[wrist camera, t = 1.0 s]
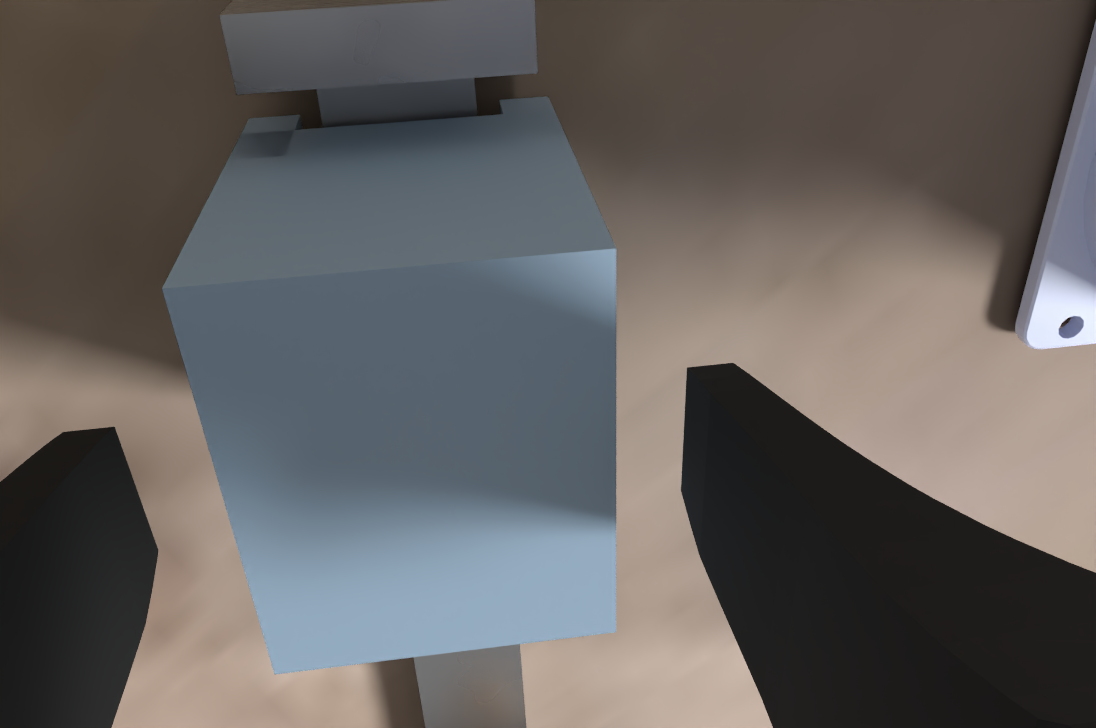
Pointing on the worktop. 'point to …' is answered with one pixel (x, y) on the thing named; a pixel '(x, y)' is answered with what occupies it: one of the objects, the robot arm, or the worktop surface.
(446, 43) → the rail
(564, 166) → the block
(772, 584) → the robot arm
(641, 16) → the worktop surface
